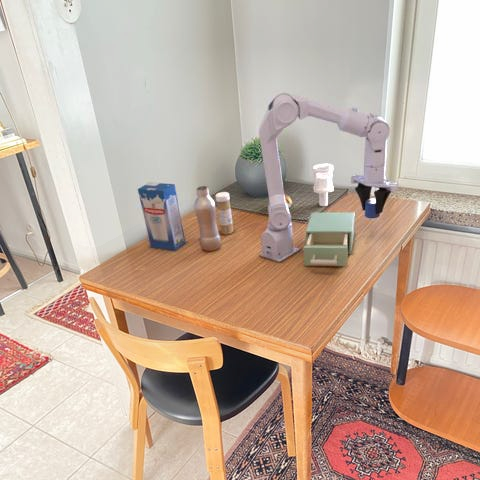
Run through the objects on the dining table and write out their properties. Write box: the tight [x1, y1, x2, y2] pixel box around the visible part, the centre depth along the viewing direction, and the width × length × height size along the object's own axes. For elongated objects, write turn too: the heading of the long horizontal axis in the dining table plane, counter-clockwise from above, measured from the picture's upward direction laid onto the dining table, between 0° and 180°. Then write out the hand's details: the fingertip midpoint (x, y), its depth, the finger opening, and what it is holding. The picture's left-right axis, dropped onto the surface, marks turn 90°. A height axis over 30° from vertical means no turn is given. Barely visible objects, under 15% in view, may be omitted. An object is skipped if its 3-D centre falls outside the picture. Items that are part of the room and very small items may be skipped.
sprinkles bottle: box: [214, 191, 234, 235], centre depth 161 cm, size 5×5×14 cm
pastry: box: [284, 194, 293, 208], centre depth 177 cm, size 9×7×4 cm
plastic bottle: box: [193, 185, 222, 252], centre depth 150 cm, size 6×7×20 cm
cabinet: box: [305, 211, 355, 255], centre depth 147 cm, size 14×13×7 cm
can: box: [364, 197, 381, 219], centre depth 140 cm, size 4×4×4 cm
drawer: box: [303, 233, 349, 267], centre depth 138 cm, size 18×12×6 cm, turn 166°
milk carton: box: [137, 182, 186, 252], centre depth 156 cm, size 10×6×20 cm, turn 62°
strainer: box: [312, 163, 334, 207], centre depth 172 cm, size 7×7×15 cm
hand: (372, 211), depth 140 cm, fingers closed on can, 4 cm apart
